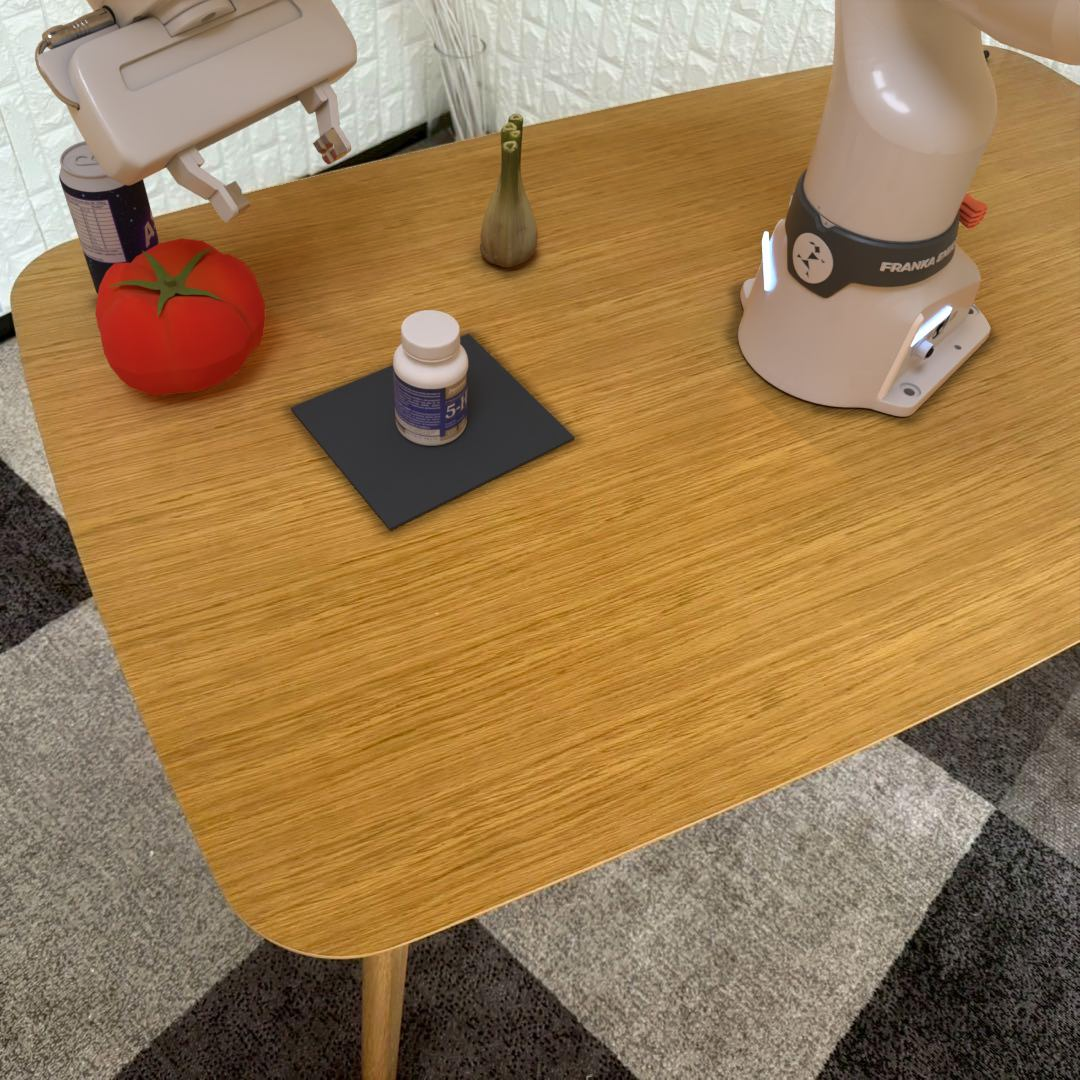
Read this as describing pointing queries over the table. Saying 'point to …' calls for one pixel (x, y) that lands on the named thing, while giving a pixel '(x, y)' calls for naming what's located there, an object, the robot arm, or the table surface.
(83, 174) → the beverage can
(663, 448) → the table surface
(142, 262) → the tomato
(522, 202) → the fennel bulb
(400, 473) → the mat
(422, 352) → the pill bottle
